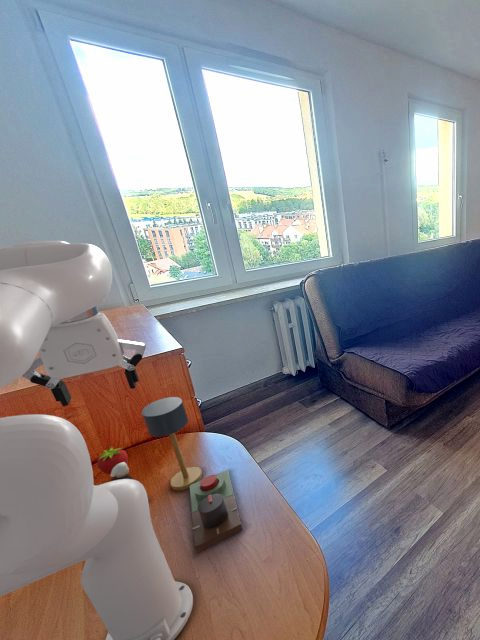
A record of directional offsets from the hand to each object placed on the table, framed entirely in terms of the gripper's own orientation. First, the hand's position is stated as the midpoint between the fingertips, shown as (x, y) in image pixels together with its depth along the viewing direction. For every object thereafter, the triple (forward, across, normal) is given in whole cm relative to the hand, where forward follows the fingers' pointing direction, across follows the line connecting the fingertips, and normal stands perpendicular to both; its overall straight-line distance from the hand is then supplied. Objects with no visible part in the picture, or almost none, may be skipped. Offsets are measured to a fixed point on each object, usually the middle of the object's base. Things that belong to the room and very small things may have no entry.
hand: (101, 393), depth 65 cm
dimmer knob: (+34, +12, -9) cm, 37 cm away
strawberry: (+37, -8, +24) cm, 45 cm away
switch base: (+36, +12, +2) cm, 38 cm away
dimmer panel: (+36, +12, -9) cm, 39 cm away
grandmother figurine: (+37, -4, +10) cm, 38 cm away
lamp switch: (+34, +12, +2) cm, 36 cm away
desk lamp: (+36, +7, +11) cm, 39 cm away
